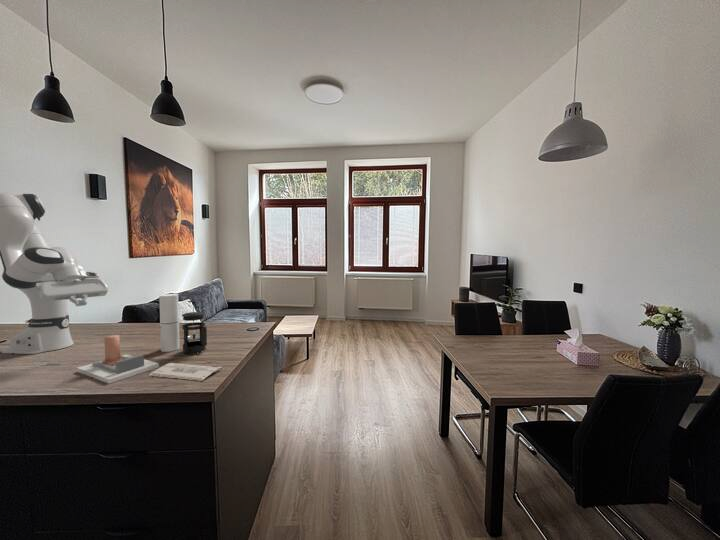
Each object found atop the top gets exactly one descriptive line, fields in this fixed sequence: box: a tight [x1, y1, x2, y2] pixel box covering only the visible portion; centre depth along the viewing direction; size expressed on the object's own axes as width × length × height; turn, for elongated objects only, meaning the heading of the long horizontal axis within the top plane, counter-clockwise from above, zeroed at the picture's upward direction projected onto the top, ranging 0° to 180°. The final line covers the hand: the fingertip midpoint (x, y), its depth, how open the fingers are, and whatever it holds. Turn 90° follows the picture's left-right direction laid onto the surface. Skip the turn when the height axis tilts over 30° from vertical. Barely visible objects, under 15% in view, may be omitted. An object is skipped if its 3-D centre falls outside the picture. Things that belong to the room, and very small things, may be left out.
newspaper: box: [148, 362, 223, 381], centre depth 108 cm, size 23×12×2 cm, turn 80°
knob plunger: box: [100, 334, 124, 366], centre depth 111 cm, size 5×5×10 cm
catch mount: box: [76, 354, 160, 385], centre depth 109 cm, size 22×16×6 cm
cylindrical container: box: [158, 293, 180, 353], centre depth 132 cm, size 7×7×25 cm
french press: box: [181, 299, 208, 355], centre depth 130 cm, size 12×9×23 cm
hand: (81, 304), depth 117 cm, fingers closed
